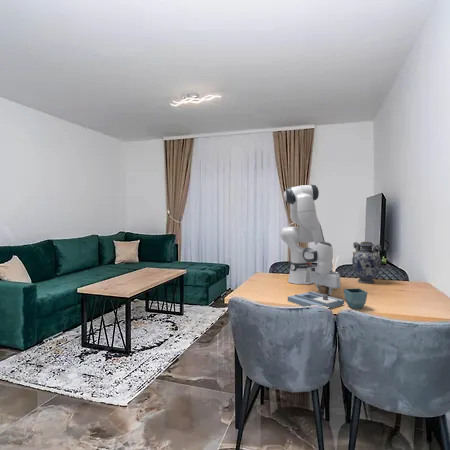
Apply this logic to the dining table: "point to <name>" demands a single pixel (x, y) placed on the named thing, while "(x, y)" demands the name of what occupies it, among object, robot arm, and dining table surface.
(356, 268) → the decorative vase
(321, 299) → the lid
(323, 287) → the walnut block
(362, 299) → the flower pot
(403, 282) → the dining table surface
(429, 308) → the dining table surface
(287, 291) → the dining table surface
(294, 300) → the puzzle board
